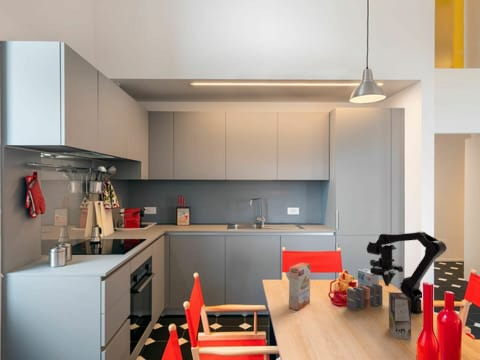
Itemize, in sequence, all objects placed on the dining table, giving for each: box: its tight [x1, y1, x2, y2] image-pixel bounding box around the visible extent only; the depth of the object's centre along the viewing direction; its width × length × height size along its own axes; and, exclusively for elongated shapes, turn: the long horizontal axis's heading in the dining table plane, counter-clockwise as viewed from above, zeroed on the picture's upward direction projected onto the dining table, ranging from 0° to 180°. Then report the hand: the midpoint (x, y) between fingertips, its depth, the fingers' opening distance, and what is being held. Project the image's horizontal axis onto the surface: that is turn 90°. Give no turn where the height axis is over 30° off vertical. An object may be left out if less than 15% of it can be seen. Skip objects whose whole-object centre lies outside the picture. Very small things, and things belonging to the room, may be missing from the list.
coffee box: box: [388, 291, 412, 341], centre depth 129 cm, size 9×6×16 cm
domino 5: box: [372, 283, 384, 307], centre depth 163 cm, size 5×2×10 cm, turn 25°
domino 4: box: [366, 284, 377, 308], centre depth 161 cm, size 5×2×10 cm, turn 25°
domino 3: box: [359, 286, 371, 309], centre depth 159 cm, size 5×2×10 cm, turn 25°
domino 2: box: [353, 286, 364, 311], centre depth 157 cm, size 5×2×10 cm, turn 25°
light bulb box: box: [357, 268, 380, 288], centre depth 187 cm, size 11×7×11 cm, turn 25°
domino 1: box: [346, 287, 358, 312], centre depth 155 cm, size 5×2×10 cm, turn 25°
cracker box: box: [288, 262, 311, 311], centre depth 160 cm, size 14×6×21 cm, turn 143°
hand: (386, 285), depth 166 cm, fingers closed
